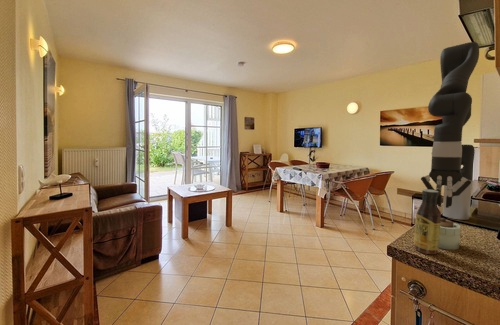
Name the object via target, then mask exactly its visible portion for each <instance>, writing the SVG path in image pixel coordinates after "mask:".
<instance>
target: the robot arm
mask: <svg viewBox="0 0 500 325" xmlns="http://www.w3.org/2000/svg"><path fill="white" fill-rule="evenodd" d="M479 57H480V46H479V43H477V42H476V41H470V42H466V43H460V44H457V45H453V46H449V47H445V48H443V49H442V50H441V52H440V60H439V61H440V74H441V76H440V77H441V84H440V87H439V90H438V91H437V92H435V93H434V95H433V96H432V98H431V99H430V101H429V103H428V106H427V108H428V113H429V115H431V116H433V117H434V118H435V117H438V118H440V117H441V118H442V123H440V124H437V125H435V126H434V130H433V145H432V147H431V148H432V149H431V166H430V172H429V173H428V174H427V175H425V176H421V178H420V180H421V181H422V183H423V184H424V186H425V187H426V189H430V190H436V191H438V192H439V196H438V199H437V207H438V208H441V207H442V216H443V217H446V218H449V219H454V220H459V221H460V220H462V221H464V220H467V221H468V220H470V214H471V200H472V199H471V197H472V185H473V166H474V160H475V147H474V145H473V144H462V140H463V128H464V126H465V125H466V124H467V122H468V121H469V120H471V119H470V118H471V116H472V103H473V98H472V95H471V94H470V93H468V92H467V91H468V90H467V89H468V84H469V81H470V77H471V75H472V74H473V72H474V71H475V68H476V66H477V64H478V62H479ZM431 179H432V181H433V182H434V183H435V185H436V186H435V188H434V187H433V185H432V184H431V182H430V181H431ZM443 186H444V187H443ZM442 188H443V195H442ZM442 196H443V198H442ZM442 200H443V203H442Z"/></svg>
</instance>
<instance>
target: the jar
mask: <svg viewBox="0 0 500 325" xmlns="http://www.w3.org/2000/svg"><path fill="white" fill-rule="evenodd" d="M460 236H461V225H460V224H457V223H455V222H453V227H452V228H450V227H441V226H440V235H439V246H438V249H443V250H449V251H454V250H455V251H456V250H458V249H459V248H460V239H461V238H460Z"/></svg>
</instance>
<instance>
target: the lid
mask: <svg viewBox="0 0 500 325" xmlns="http://www.w3.org/2000/svg"><path fill="white" fill-rule="evenodd" d="M440 222H441V224H440V226H441V227H450V228H452V227H453V223H454V221H452V220H449V219H446V218H444V217H441V219H440Z"/></svg>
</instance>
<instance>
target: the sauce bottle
mask: <svg viewBox="0 0 500 325" xmlns="http://www.w3.org/2000/svg"><path fill="white" fill-rule="evenodd" d="M421 194H422V199H421V200H422V201H421V204H420V206H419V208H418V209H417V211H416V214H415V223H414V224H415V227H414V235H413V236H414V237H413V238H414V239H413V243H414V245H413V246H414V249H415V250H416V251H418V252H420V253H422V254H426V255H436V254H438V252H439V251H438V250H439V248H438V246H439V235H440V224H441V222H440V219H441V218H442V213H441V211H440V209H439V206H438V205H437V199H438V196H439V192H438V191H436V189H435V190H430V189H427V188H426V189H423V190H422V191H421Z"/></svg>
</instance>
